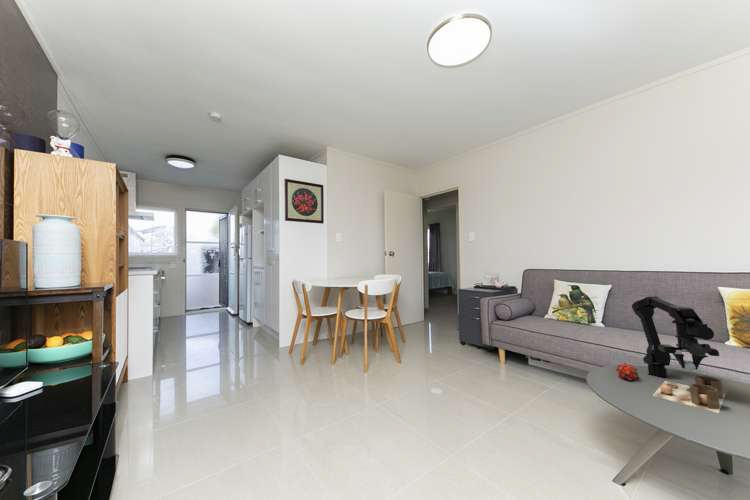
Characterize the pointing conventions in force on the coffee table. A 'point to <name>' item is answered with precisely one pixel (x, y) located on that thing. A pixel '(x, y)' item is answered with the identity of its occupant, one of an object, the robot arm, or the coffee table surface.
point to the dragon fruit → (627, 371)
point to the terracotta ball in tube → (703, 399)
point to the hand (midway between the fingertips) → (689, 368)
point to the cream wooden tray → (696, 393)
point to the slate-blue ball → (689, 365)
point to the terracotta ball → (666, 389)
